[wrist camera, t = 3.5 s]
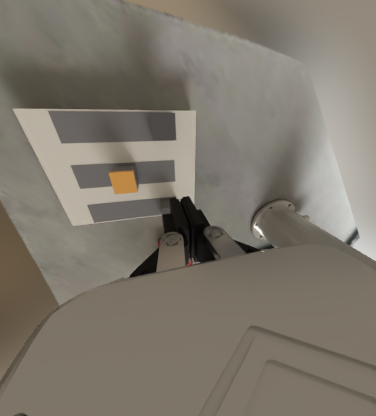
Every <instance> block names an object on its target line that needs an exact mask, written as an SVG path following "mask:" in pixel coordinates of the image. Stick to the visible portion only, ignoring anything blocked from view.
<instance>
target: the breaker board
mask: <svg viewBox="0 0 376 416" xmlns="http://www.w3.org/2000/svg"><path fill="white" fill-rule="evenodd" d="M13 111H14V113H15V115H16V116H17V118H18V120H19V122H20V124H21V126H22V128H23V130H24V132H25V134H26V136H27V138H28V140H29V142H30V144H31V146H32V148H33V149H34V151H35V153H36V155H37V157H38V159H39V161H40V163H41V165H42V167H43V169H44V171H45V173H46V175H47V177H48V179H49V180H50V182H51V184H52V186H53V188H54V190H55V192H56V194H57V196H58V198H59V200H60V202H61V204H62V206H63V208H64V210H65V212H66V213H67V215H68V217H69V219H70V221H71V223H72V225H73V226H77V225H86V224H94V223H102V222H111V221H119V220H127V219H136V218H144V217H152V216H161V215H162V214H170V201H169V198H176V199H179V201H180V199H182V198H183V197H186V196H189V197H190V198H191V200H192V202H193V204H194V190H195V134H196V111H173V110H89V109H13ZM121 165H136V167H137V173H138V178H139V187H138V192H136V193H125V194H115V193H114V190H113V187H112V183H111V180H110V176H109V172H110V171H111V170H112V169H113V168H114V167H115V166H121ZM162 222H163V217H162Z"/></svg>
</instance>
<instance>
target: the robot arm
mask: <svg viewBox="0 0 376 416" xmlns="http://www.w3.org/2000/svg"><path fill="white" fill-rule="evenodd" d="M169 201H170V214H162V217H163V225H164V233H165V234H164V235H163V236H162V237H161V240H160V247H159V248H158V249H157V250H156V251H155V252H154V253H153V254H152V255H151V256H149V257H148V258H147V259H146V260H145V261H144V262H143V263H142V264H141V265H140V266H139V267H138V268H137V269H136V270H135V271H134V272H133V273H132V274H131V275H130V277H128V278H126V279H124V277H123V278H120V279H118V280H115V281H113V282H110V283H108V284H105V285H102V286H99V287H96V288H94V289H91V290H89V291H86V292H84V293H82V294H80V295H78V296H76V297H74V298H72V299H70V300H69V301H67V302H65V303H64V304H62V305H61V306H59V307H58V308H56V309H55V310H53V311H52V312H51V313H50V314H49V315H47V316H46V317H45V319H43V320H42V321H41V322H40V324H39V325H38V326H37V327H36V328H35V329H34V331H33V332H32V333H31V335H30V336H29V337H28V339H27V340H26V342H25V343H24V345H23V346H22V348H21V349H20V351H19V352H18V354H17V355H16V357H15V358H14V360H13V361H12V363H11V365H10V366H9V368H8V369H7V371H6V373H5V374H4V376H3V377H2V379H1V381H0V416H376V261H374V260H372V259H371V258H369V257H367V256H366V255H364V254H362V253H361V252H359V251H357V250H356V249H354V248H352V247H351V246H349V245H348V244H346V243H344V242H343V241H341V240H339V239H338V238H336V237H334V236H333V235H331V234H329V233H328V232H326V231H325V230H323V229H321V228H320V227H318V226H316V225H315V224H313V223H311V222H310V221H308V220H309V216H307V215H305V216H301V215H299V214H298V213H296V209H295V206H294V205H293V204H292V203H291V202H289V201H287V200H282V199H281V200H275V201H272V202H270V203H268V204H267V205H265V206H264V207H263V208H261V209H260V210H259V211H258V212H257V214H256V215H255V217H254V219H253V221H252V224H251V230H252V233H253V234H254V235H255V236H256V237H257V238H259V239H263V240H265V239H267V240H268V241H269V242H270V243H271V244H272V245H273V246H274V247H275V248H274V249H261V251H260V250H259V249H256V248H254V247H251V246H249V245H246V244H243V243H241V242H238V241H235V240H233V239H232V238H231V237H230V236H229V235H228V234H227V233H226V232H225V231H224V230H223V229H222V228H220V227H218V226H210V224H209V222H208V221H207V219H206V217H205V216H204V214H203V212H202V211H201V210H197V209H196V207H195V206H194V204H193V202H192V200H191V198H190V197H189V196H186V197H183V198H182V199H180V201H179V199H176V198H169ZM189 253H190V257H191V258H194V261H195V262H198V261H199V262H201V263H198V264H193V265H189V266H186V265H187V264H188V263H189Z"/></svg>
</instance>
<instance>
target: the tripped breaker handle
mask: <svg viewBox="0 0 376 416" xmlns="http://www.w3.org/2000/svg"><path fill="white" fill-rule="evenodd" d="M109 176H110V180H111V183H112V187H113V190H114V193H115V194H125V193H136V192H138V187H139V178H138V173H137V167H136V165H121V166H115V167H114V168H113V169H112V170H111V171H110V172H109Z"/></svg>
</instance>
